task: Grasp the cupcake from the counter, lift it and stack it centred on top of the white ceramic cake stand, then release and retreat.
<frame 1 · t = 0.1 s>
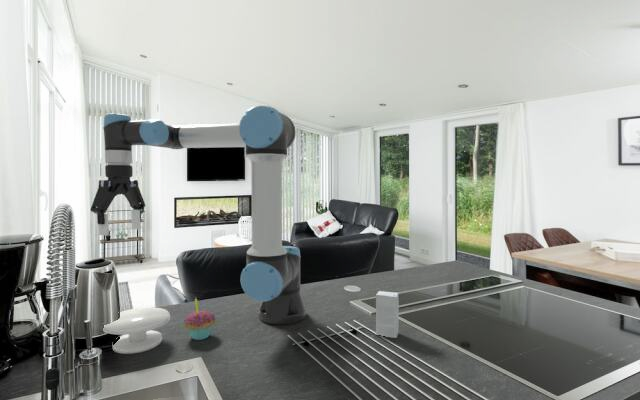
hand: (120, 232, 117), 28 cm above the kitchen island, fingers open, 13 cm apart
cupcake: (200, 336, 106), on the kitchen island
cake stand: (137, 343, 101), on the kitchen island
skincare box: (387, 335, 107), on the kitchen island
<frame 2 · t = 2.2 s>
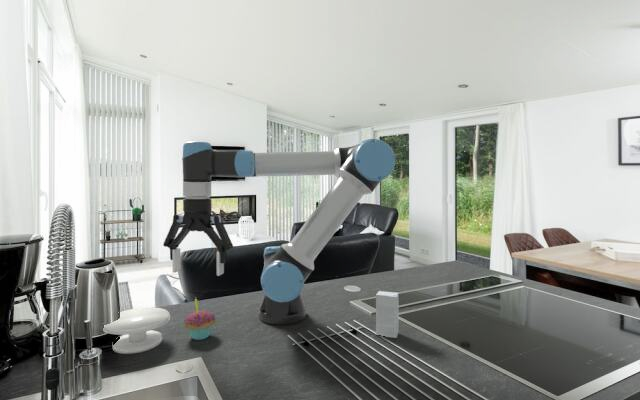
hand: (198, 273, 105), 18 cm above the kitchen island, fingers open, 13 cm apart
nothing on the kitchen island moved.
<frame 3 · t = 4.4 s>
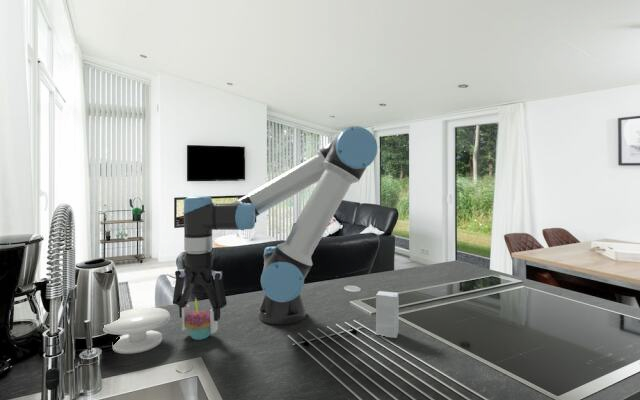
hand: (200, 329, 106), 2 cm above the kitchen island, fingers closed on cupcake, 8 cm apart
cupcake: (200, 336, 106), on the kitchen island, touching gripper
everything else where it was.
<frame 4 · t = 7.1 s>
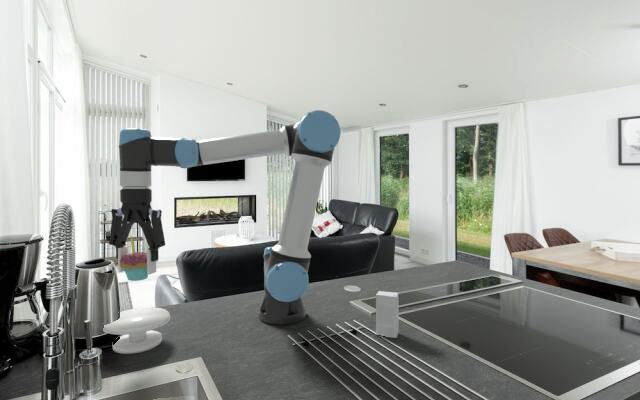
hand: (137, 272, 100), 20 cm above the kitchen island, fingers closed on cupcake, 8 cm apart
cupcake: (137, 279, 100), point 18 cm above the kitchen island, touching gripper
everything else where it was.
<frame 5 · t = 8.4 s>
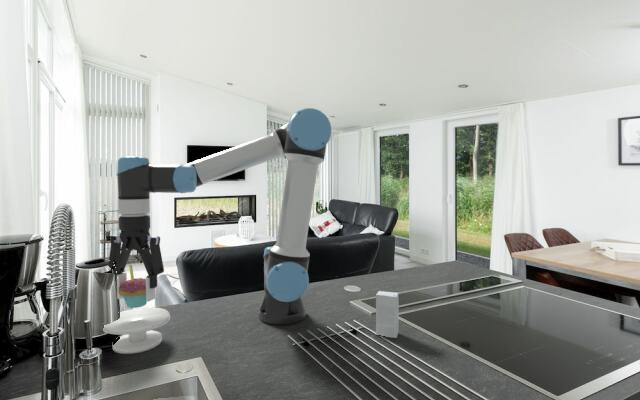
hand: (136, 298, 100), 12 cm above the kitchen island, fingers closed on cupcake, 8 cm apart
cupcake: (136, 305, 100), point 10 cm above the kitchen island, touching gripper
everything else where it was.
when the fingers open (10 cm above the kitchen island, at t = 9.6 s): cupcake drops 1 cm, resting on cake stand.
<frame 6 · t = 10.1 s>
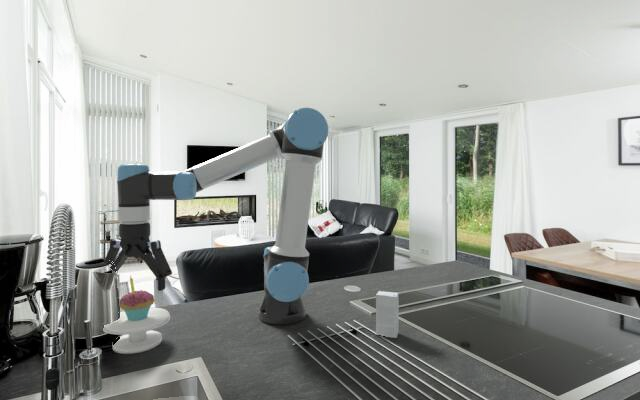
hand: (136, 300, 100), 12 cm above the kitchen island, fingers open, 13 cm apart
cupcake: (137, 318, 101), point 7 cm above the kitchen island, touching cake stand
everything else where it was.
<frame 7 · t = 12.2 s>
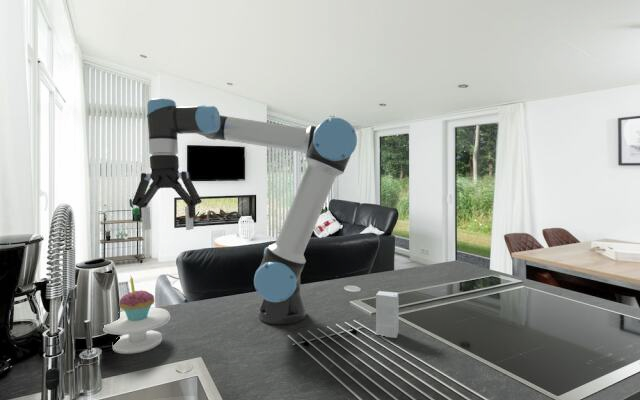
hand: (168, 229, 106), 30 cm above the kitchen island, fingers open, 13 cm apart
nothing on the kitchen island moved.
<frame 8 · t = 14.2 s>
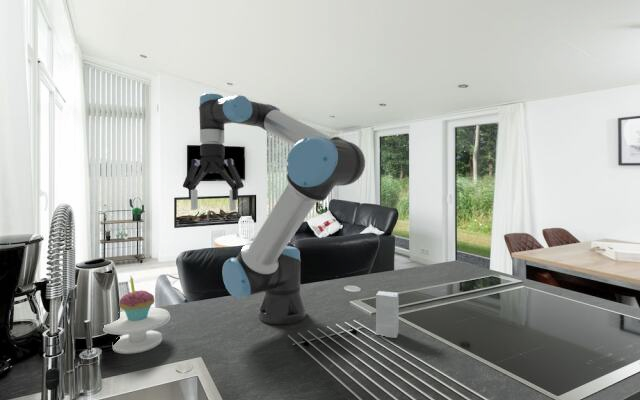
hand: (213, 210, 120), 35 cm above the kitchen island, fingers open, 13 cm apart
nothing on the kitchen island moved.
at the end: cupcake inside the target area on the cake stand (0.0 cm from its centre), point 7.0 cm above the cake stand's base; cupcake tilted 0°; the gripper is holding nothing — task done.
